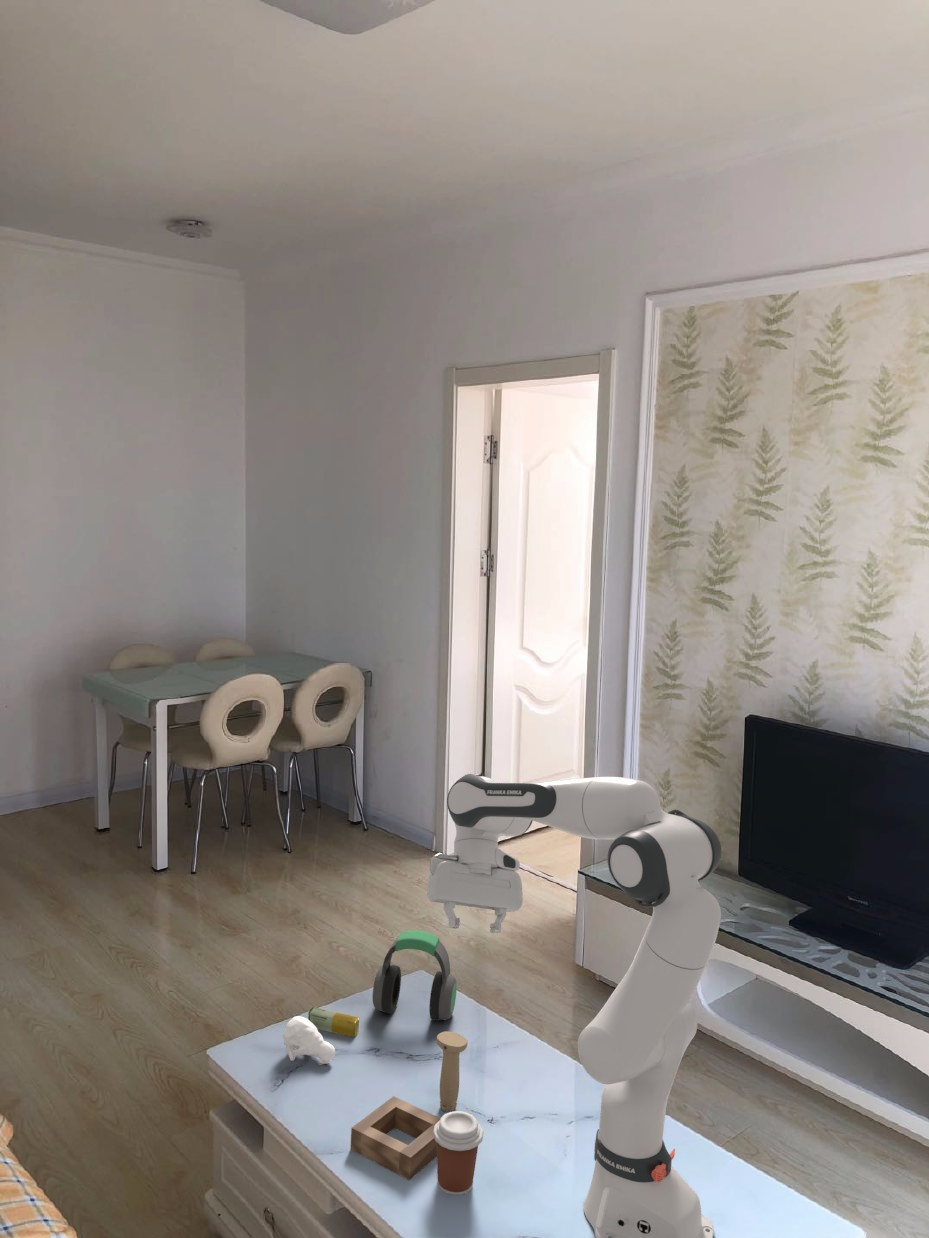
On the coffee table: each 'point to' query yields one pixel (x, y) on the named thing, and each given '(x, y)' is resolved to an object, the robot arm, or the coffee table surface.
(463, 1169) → the coffee cup
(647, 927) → the robot arm
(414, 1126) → the socket block
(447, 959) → the headphones
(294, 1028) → the white lumpy rounded piece
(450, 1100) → the handle
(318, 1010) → the medication box
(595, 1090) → the coffee table surface
